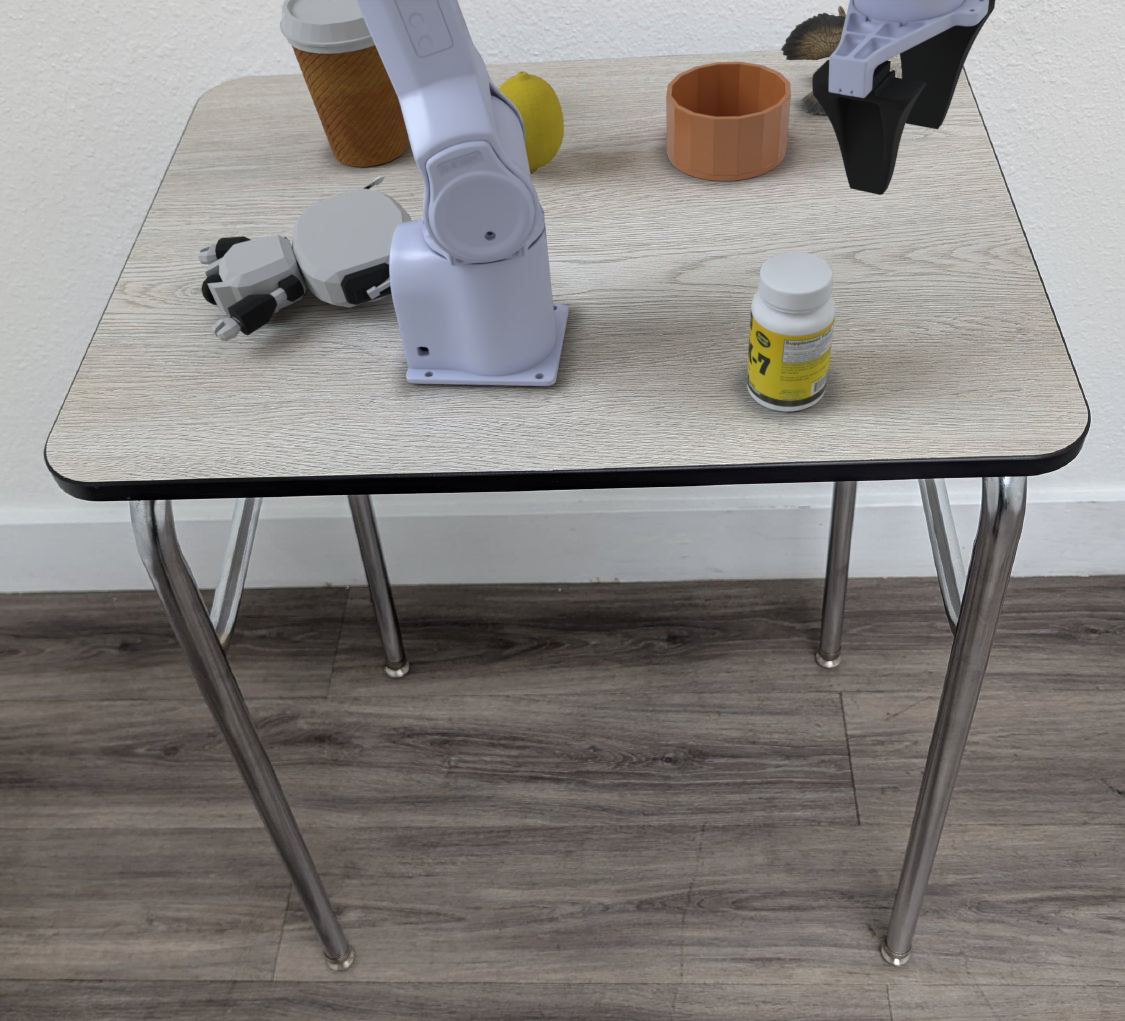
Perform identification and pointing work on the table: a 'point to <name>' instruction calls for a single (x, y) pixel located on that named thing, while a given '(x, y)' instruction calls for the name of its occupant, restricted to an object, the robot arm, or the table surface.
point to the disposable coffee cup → (346, 80)
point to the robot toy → (305, 261)
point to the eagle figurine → (815, 45)
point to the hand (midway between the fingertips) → (896, 155)
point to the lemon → (536, 116)
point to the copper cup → (727, 120)
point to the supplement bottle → (791, 332)
